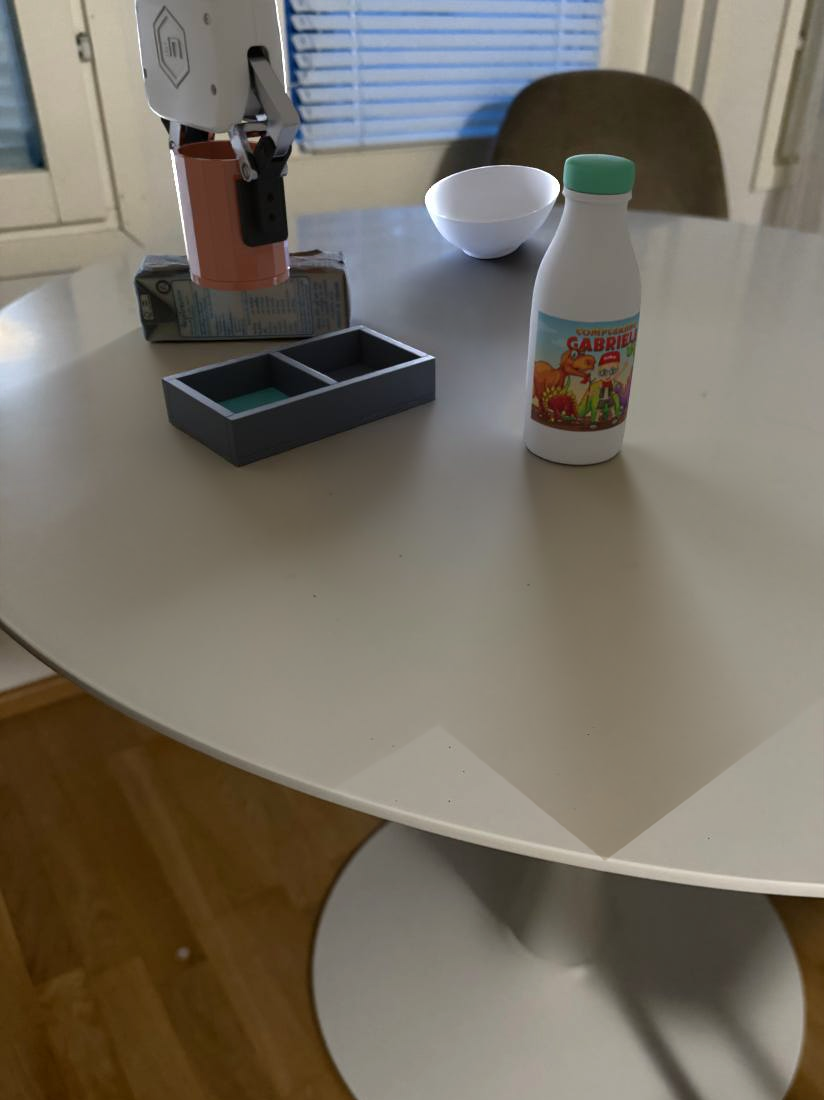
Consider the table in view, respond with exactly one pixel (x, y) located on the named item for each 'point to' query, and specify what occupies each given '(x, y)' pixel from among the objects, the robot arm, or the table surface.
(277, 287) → the beverage carton
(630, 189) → the milk bottle
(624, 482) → the table surface
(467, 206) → the bowl
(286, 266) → the cup
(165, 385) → the tray
